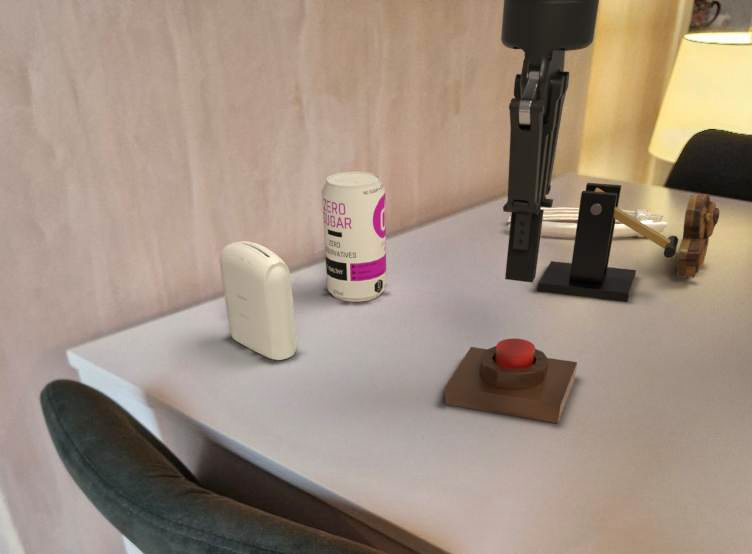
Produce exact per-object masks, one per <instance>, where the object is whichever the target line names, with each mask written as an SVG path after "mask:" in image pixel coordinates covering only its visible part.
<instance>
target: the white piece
mask: <svg viewBox="0 0 752 554" xmlns="http://www.w3.org/2000/svg"><path fill="white" fill-rule="evenodd" d="M541 209H542V210H544V211H543V219H542V228H541V235H550V236H562V237H563V236H565V237H575V235H576V228H577V222H576V223H575V222H574V223H573V222H557V221H561V220H562V221H578V214H579V207H551V208H546V207H541ZM621 210H622V211H623V212H625V213H627V214H628V215H630V216H632V217H633V218H635V219H637V220H638V221H640V222H641V223H643V224H645V225H646V226H648V227H650V228H651V229H653V230H655V231H656V232H658V233H660V234H661V233H663V232H664V231H665V230H666V229H667V226H668V222H667V221H663V218H664V214H663V213H654V212H649V210H648V209H640V208H636V209H635V210H627V209H621ZM507 223H509V224H508V225H507V227H506V229H507V231H510V224H511V214H509V216H508V219H507ZM624 237H625V238H628V237H637V238H638V239H639V238H641V239H642V238H645V237H644V236H643V235H641V234H639V233H638V232H636V231H634V230H633V229H631V228H630V227H628V226H626V225H625V224H623V223H621V222H620V221H618V220H616V221H615V226H614V232H613V238H624Z"/></svg>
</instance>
